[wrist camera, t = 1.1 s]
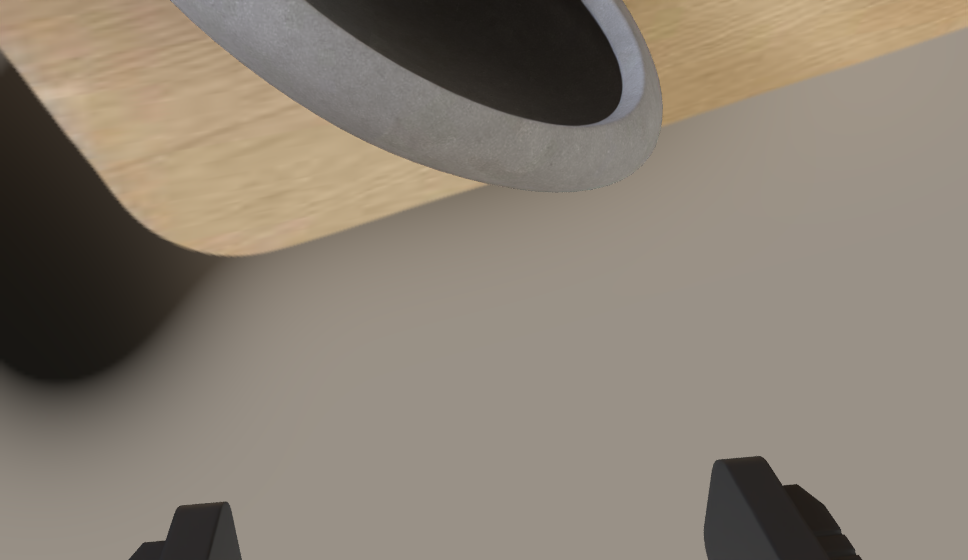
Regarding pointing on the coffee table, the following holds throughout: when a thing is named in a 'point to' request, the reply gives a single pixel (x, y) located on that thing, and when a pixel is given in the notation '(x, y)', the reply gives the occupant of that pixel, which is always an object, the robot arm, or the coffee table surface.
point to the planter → (462, 80)
